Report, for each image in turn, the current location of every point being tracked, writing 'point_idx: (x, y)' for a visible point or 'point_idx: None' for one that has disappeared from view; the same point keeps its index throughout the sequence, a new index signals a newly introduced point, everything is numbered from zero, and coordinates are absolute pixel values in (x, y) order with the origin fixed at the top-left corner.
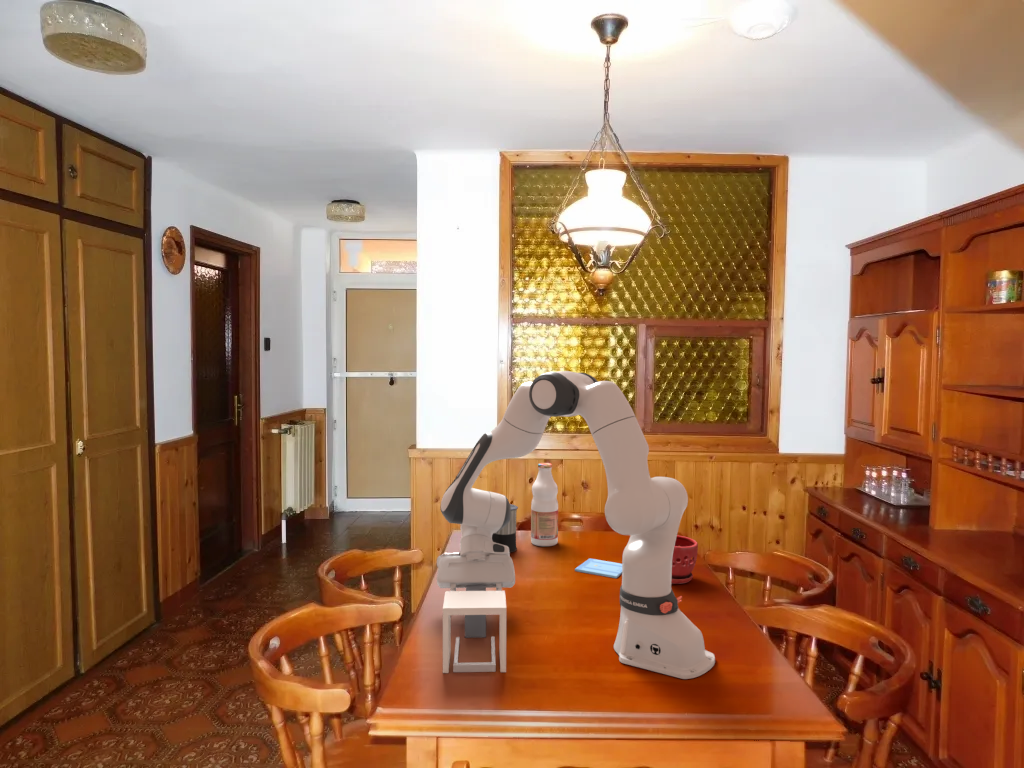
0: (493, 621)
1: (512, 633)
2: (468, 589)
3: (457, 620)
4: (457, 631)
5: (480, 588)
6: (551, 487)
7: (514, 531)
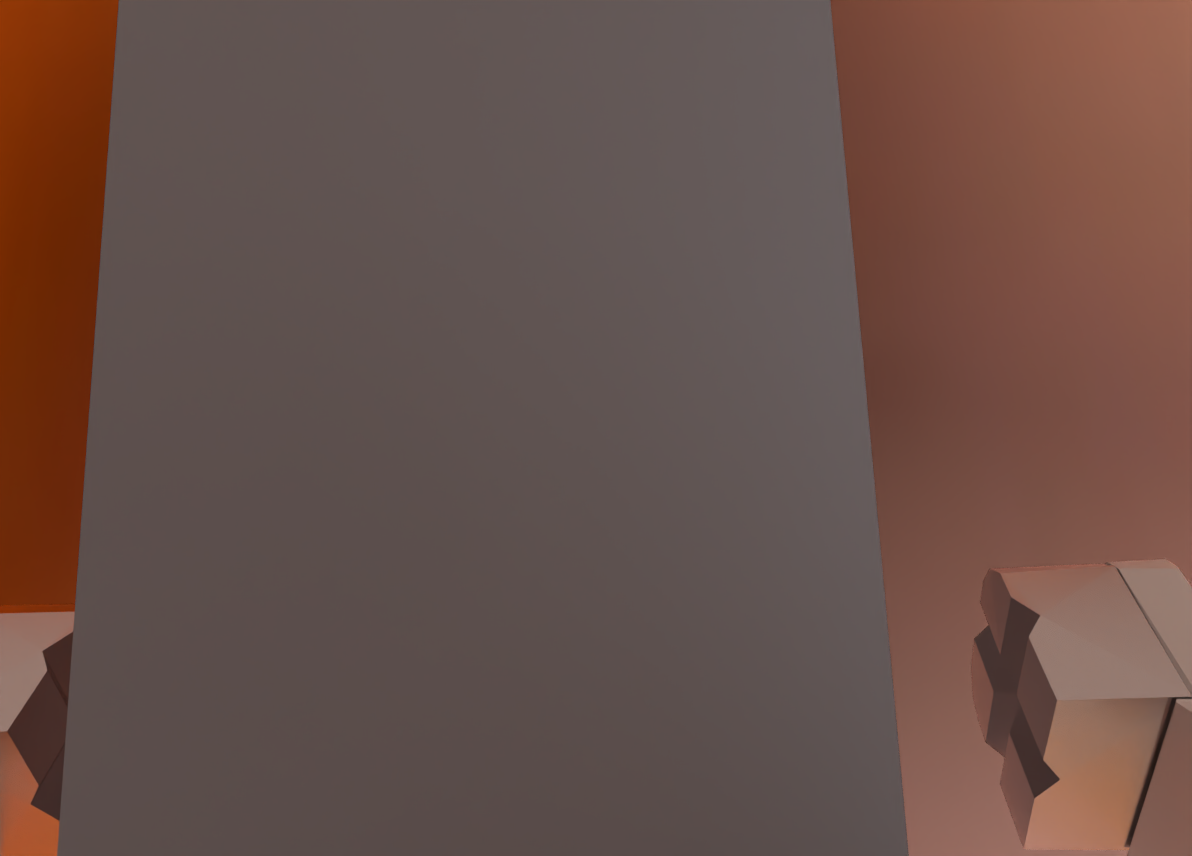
0: None
1: (19, 127)
2: (771, 545)
3: (933, 615)
4: (870, 157)
5: (281, 659)
6: None
7: None
